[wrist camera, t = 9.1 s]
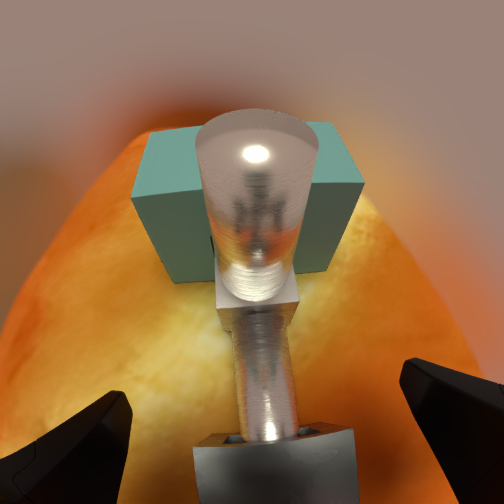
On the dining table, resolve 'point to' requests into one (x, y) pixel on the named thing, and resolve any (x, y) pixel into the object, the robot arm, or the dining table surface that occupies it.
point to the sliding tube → (258, 252)
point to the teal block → (195, 214)
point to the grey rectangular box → (279, 468)
